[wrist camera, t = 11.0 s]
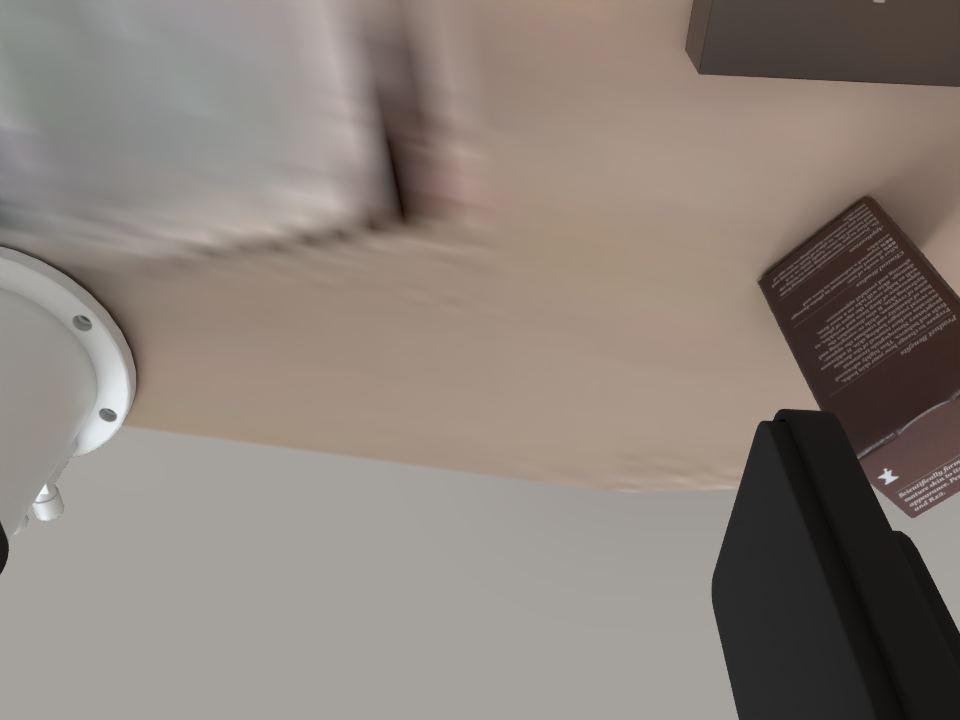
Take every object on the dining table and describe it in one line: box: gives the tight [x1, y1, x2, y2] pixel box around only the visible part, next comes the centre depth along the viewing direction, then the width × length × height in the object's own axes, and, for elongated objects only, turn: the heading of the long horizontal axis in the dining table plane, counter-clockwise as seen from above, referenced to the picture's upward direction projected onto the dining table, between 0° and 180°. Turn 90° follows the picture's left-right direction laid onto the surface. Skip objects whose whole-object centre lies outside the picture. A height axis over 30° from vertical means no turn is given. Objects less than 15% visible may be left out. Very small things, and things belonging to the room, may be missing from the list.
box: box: [758, 197, 960, 518], centre depth 33 cm, size 6×4×12 cm
